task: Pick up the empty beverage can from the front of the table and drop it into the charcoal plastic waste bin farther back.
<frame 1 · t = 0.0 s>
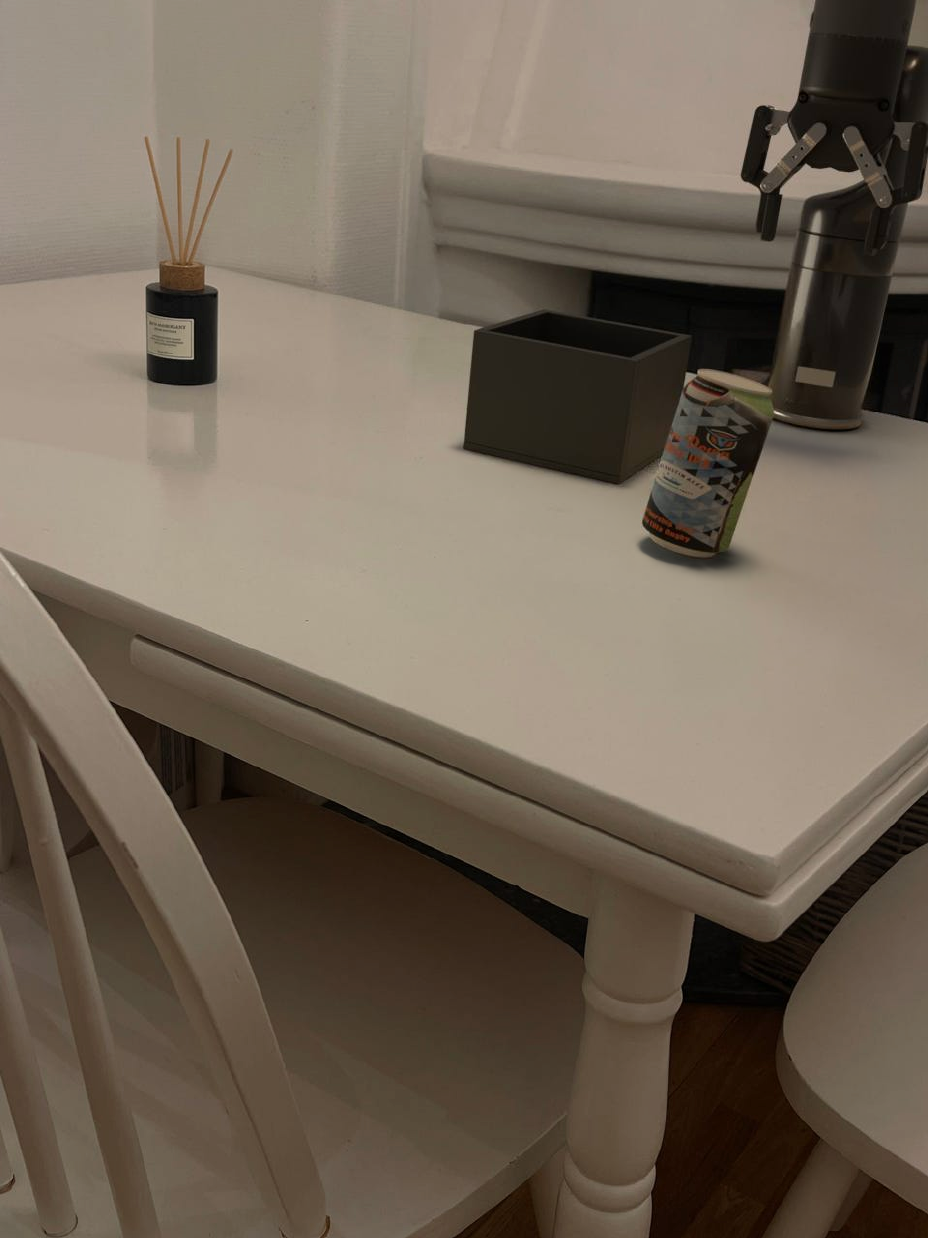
hand: (817, 247, 104), 17 cm above the table, tool pointing down, fingers open, 8 cm apart
beverage can: (691, 552, 85), on the table
waste bin: (571, 447, 105), on the table
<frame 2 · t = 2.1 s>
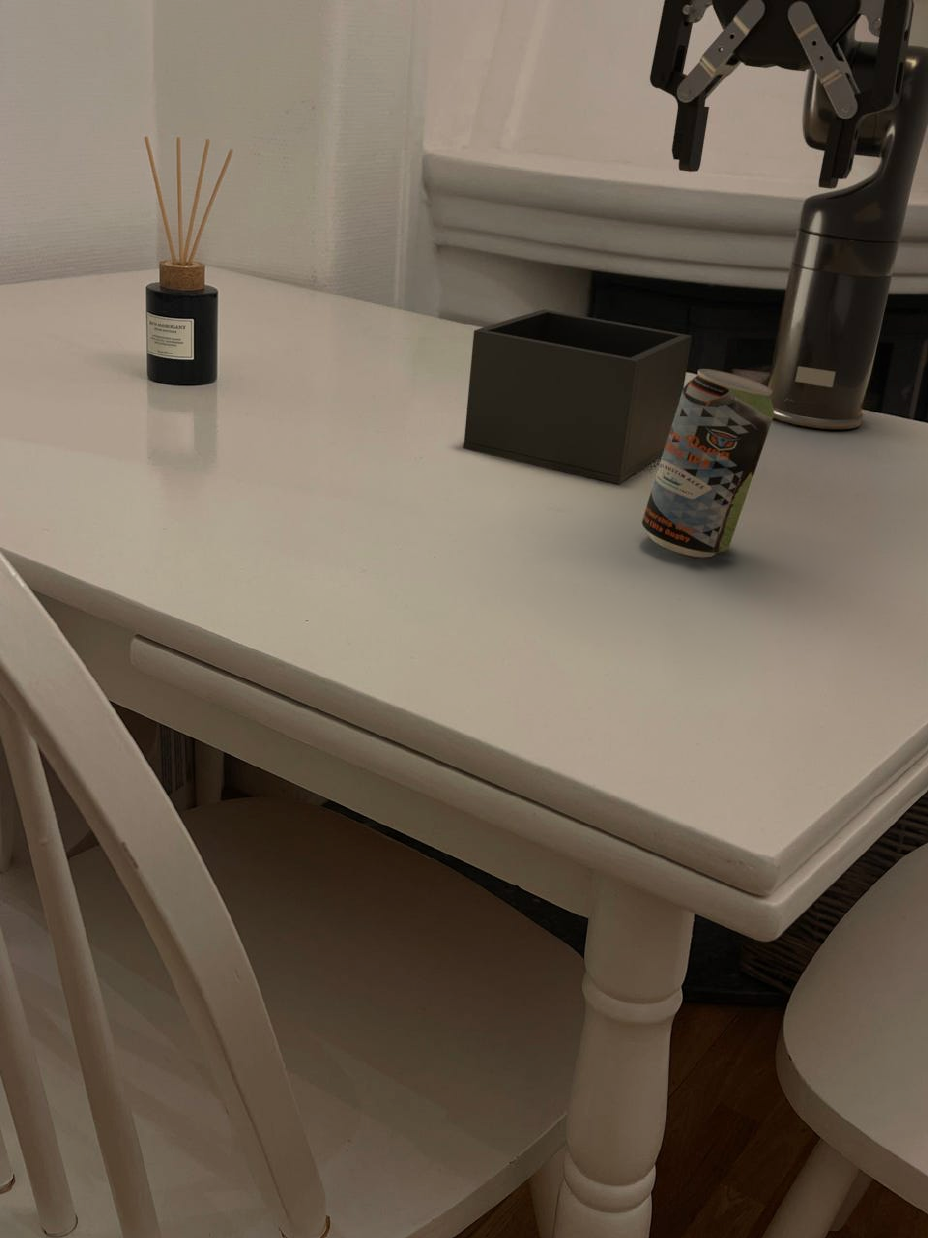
hand: (756, 178, 76), 24 cm above the table, tool pointing down, fingers open, 8 cm apart
nothing on the table moved.
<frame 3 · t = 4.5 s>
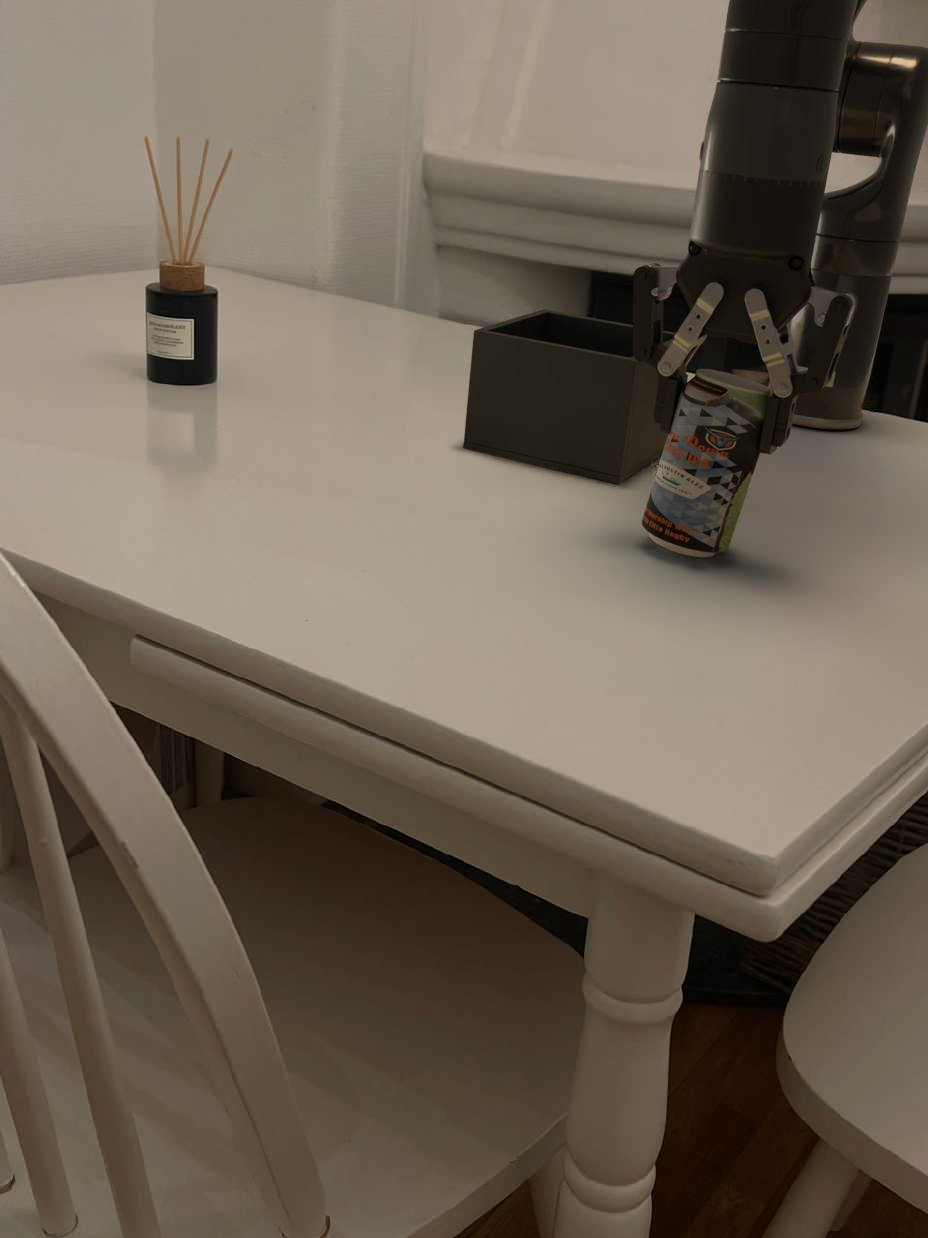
hand: (717, 440, 82), 8 cm above the table, tool pointing down, fingers closed on beverage can, 6 cm apart
beverage can: (691, 551, 85), on the table, touching gripper
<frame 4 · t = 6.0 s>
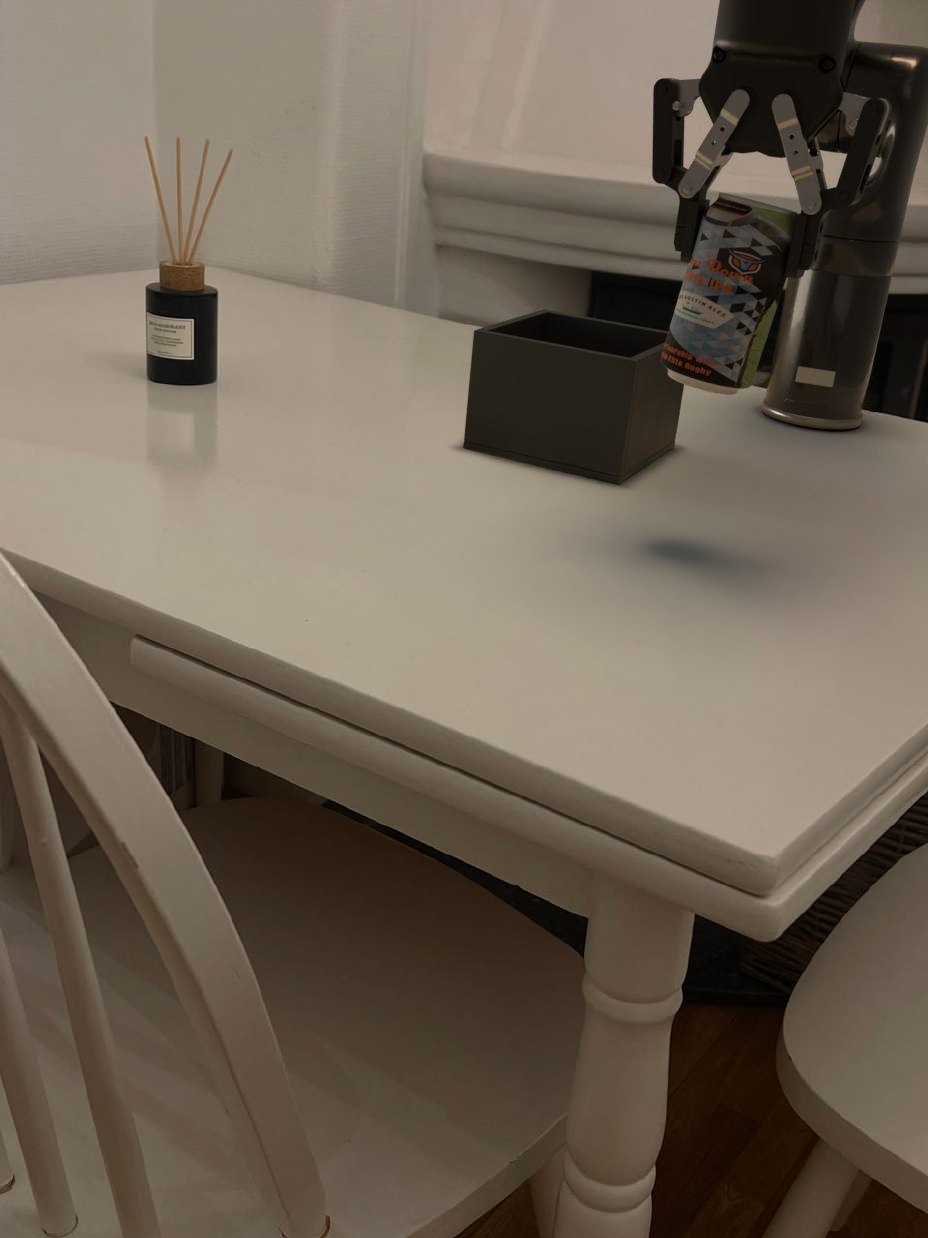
hand: (741, 268, 78), 19 cm above the table, tool pointing down, fingers closed on beverage can, 6 cm apart
beverage can: (712, 392, 81), point 11 cm above the table, touching gripper
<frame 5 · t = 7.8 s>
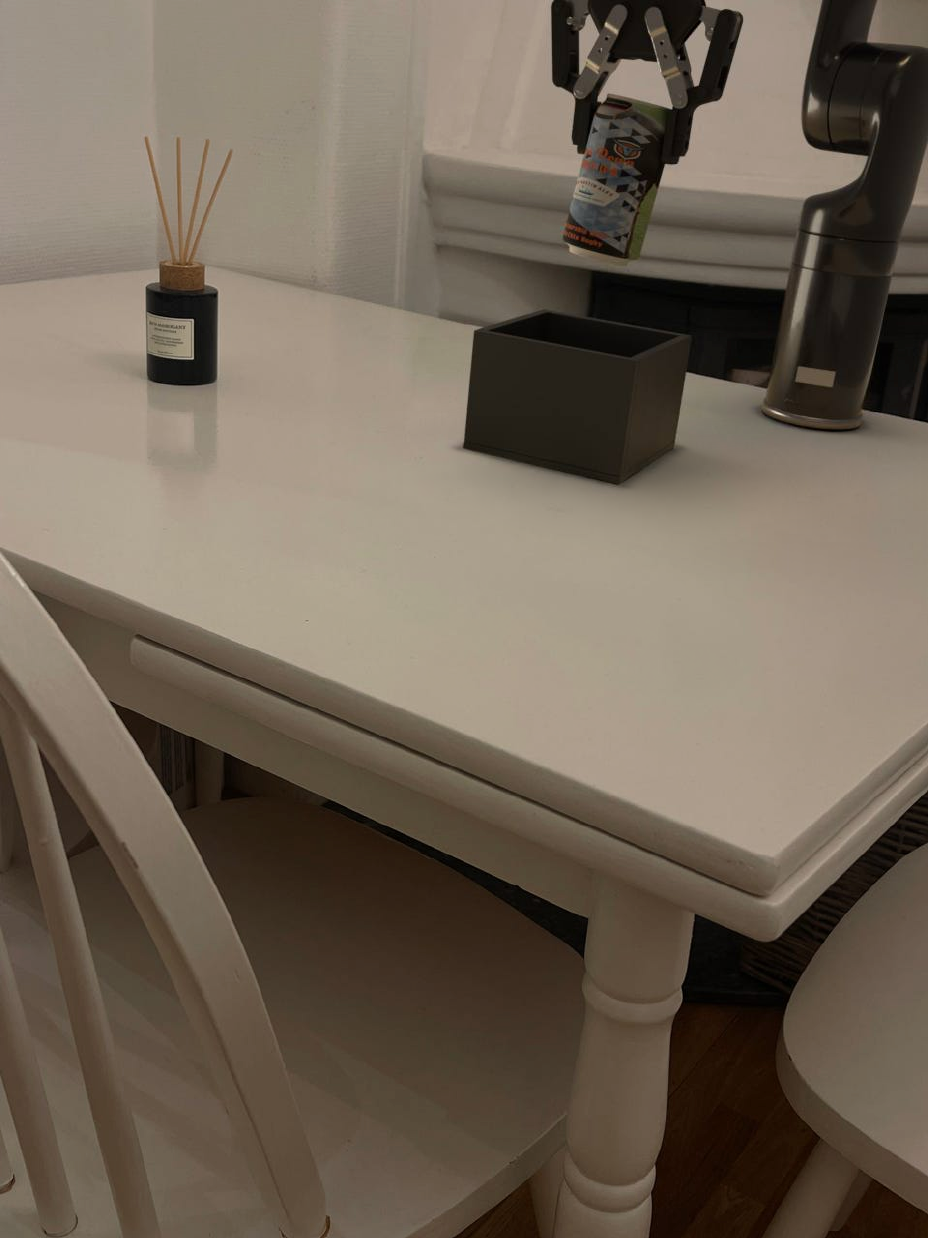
hand: (627, 157, 93), 23 cm above the table, tool pointing down, fingers closed on beverage can, 6 cm apart
beverage can: (607, 265, 97), point 15 cm above the table, touching gripper
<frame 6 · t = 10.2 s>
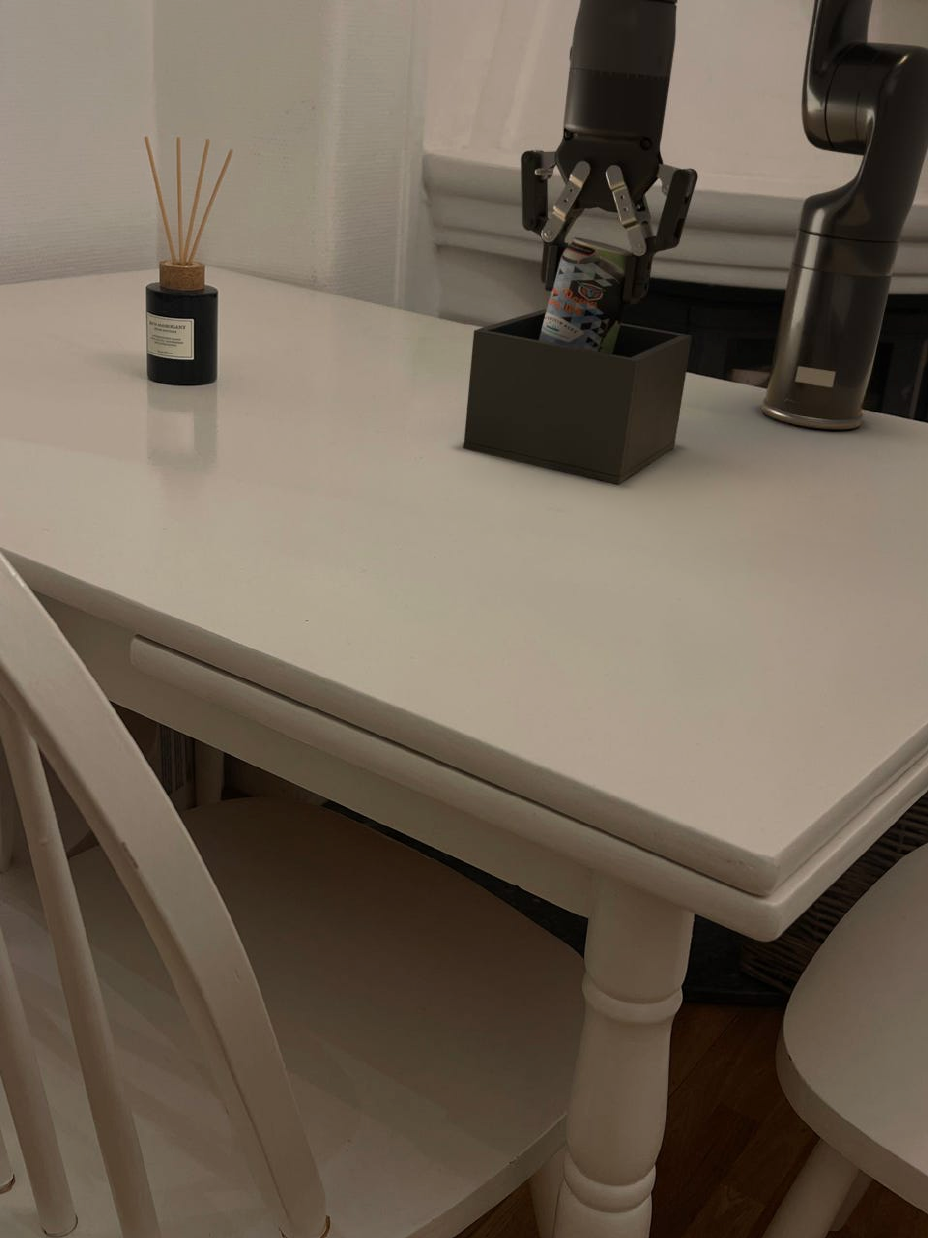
hand: (591, 295, 100), 13 cm above the table, tool pointing down, fingers closed on beverage can, 6 cm apart
beverage can: (573, 392, 104), point 5 cm above the table, touching gripper
when the fingers open (10 cm above the table, at t = 11.6 s): beverage can drops 1 cm, resting on waste bin.
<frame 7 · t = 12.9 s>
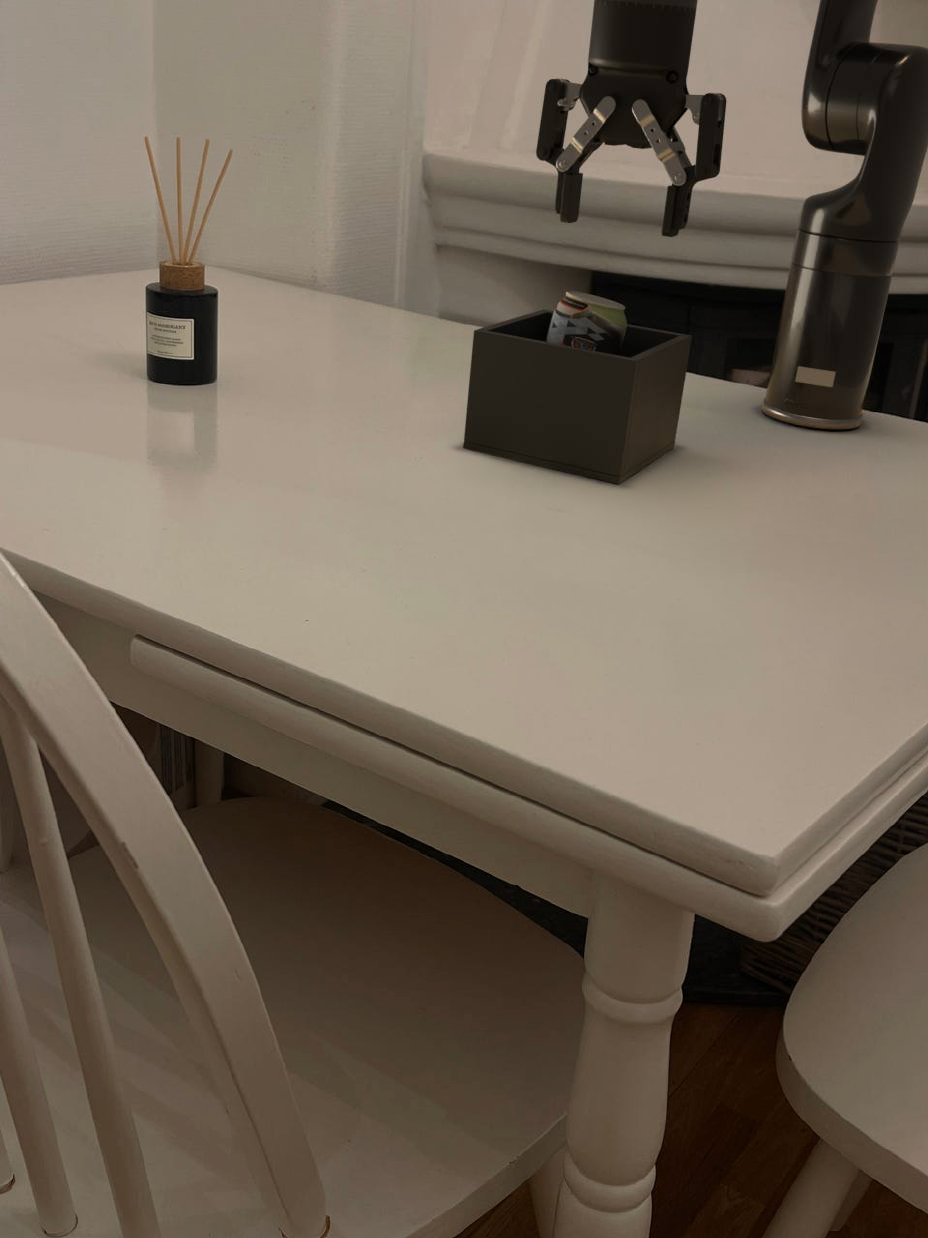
hand: (618, 228, 99), 18 cm above the table, tool pointing down, fingers open, 8 cm apart
beverage can: (566, 441, 106), resting on waste bin
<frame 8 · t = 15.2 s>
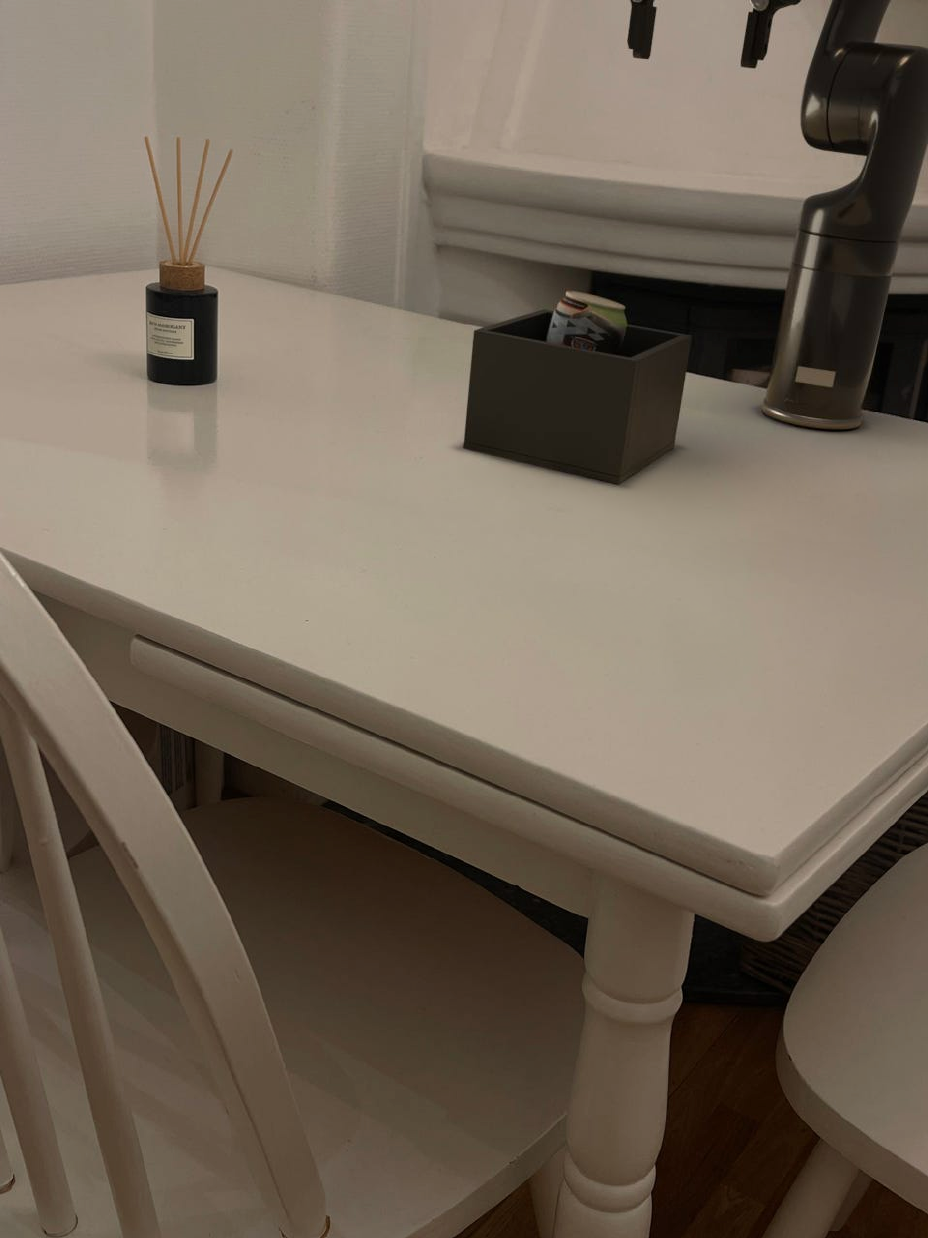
hand: (693, 62, 96), 30 cm above the table, tool pointing down, fingers open, 8 cm apart
nothing on the table moved.
at the end: beverage can inside the target area in the waste bin (0.5 cm from its centre), point 0.4 cm above the waste bin's base; the gripper is holding nothing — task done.
